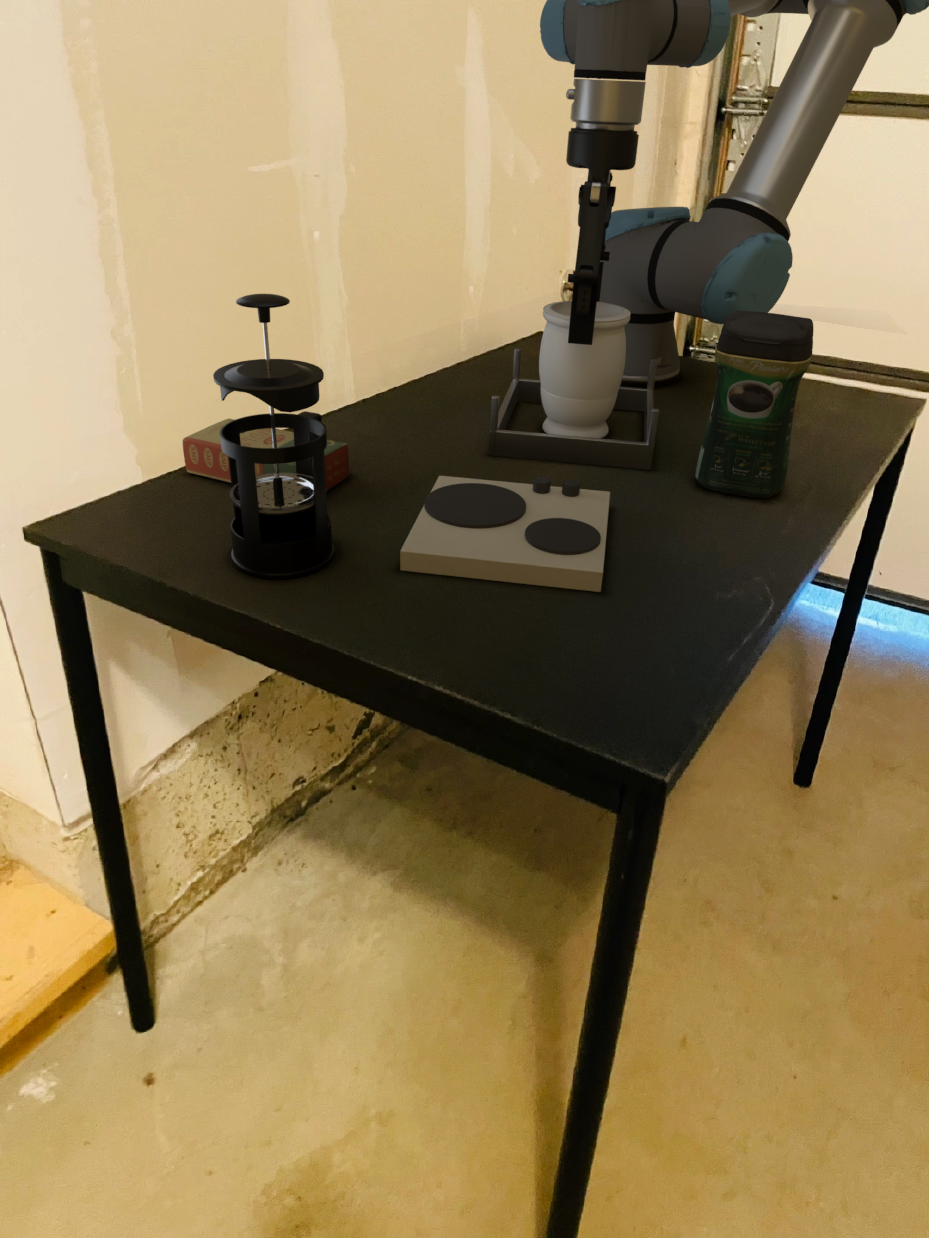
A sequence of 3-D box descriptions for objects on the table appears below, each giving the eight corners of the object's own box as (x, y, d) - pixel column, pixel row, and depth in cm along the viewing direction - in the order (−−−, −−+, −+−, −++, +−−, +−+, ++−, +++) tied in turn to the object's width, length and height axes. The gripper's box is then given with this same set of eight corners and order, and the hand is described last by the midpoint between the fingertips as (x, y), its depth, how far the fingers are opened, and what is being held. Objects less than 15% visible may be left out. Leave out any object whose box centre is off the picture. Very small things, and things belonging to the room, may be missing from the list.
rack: (511, 399, 125) (514, 348, 122) (650, 410, 123) (657, 358, 119) (488, 455, 107) (491, 397, 103) (651, 470, 104) (659, 411, 101)
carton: (232, 451, 106) (229, 415, 104) (351, 477, 100) (350, 440, 98) (185, 474, 99) (180, 436, 97) (309, 504, 94) (306, 465, 91)
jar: (613, 450, 110) (628, 323, 102) (528, 441, 111) (537, 316, 104) (618, 421, 119) (633, 302, 111) (539, 414, 120) (548, 296, 112)
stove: (438, 492, 97) (439, 464, 96) (608, 509, 95) (611, 480, 93) (400, 570, 82) (399, 538, 80) (600, 592, 80) (604, 560, 78)
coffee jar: (786, 480, 103) (825, 311, 93) (777, 506, 97) (817, 328, 87) (701, 465, 106) (730, 301, 97) (686, 489, 100) (716, 316, 90)
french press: (295, 592, 78) (274, 317, 66) (205, 568, 81) (170, 302, 69) (362, 538, 87) (354, 288, 76) (279, 519, 90) (259, 276, 79)
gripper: (576, 121, 108) (560, 305, 119) (559, 130, 87) (541, 353, 98) (640, 124, 107) (618, 309, 118) (638, 134, 86) (611, 359, 97)
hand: (583, 329), depth 108 cm, fingers open, 13 cm apart
